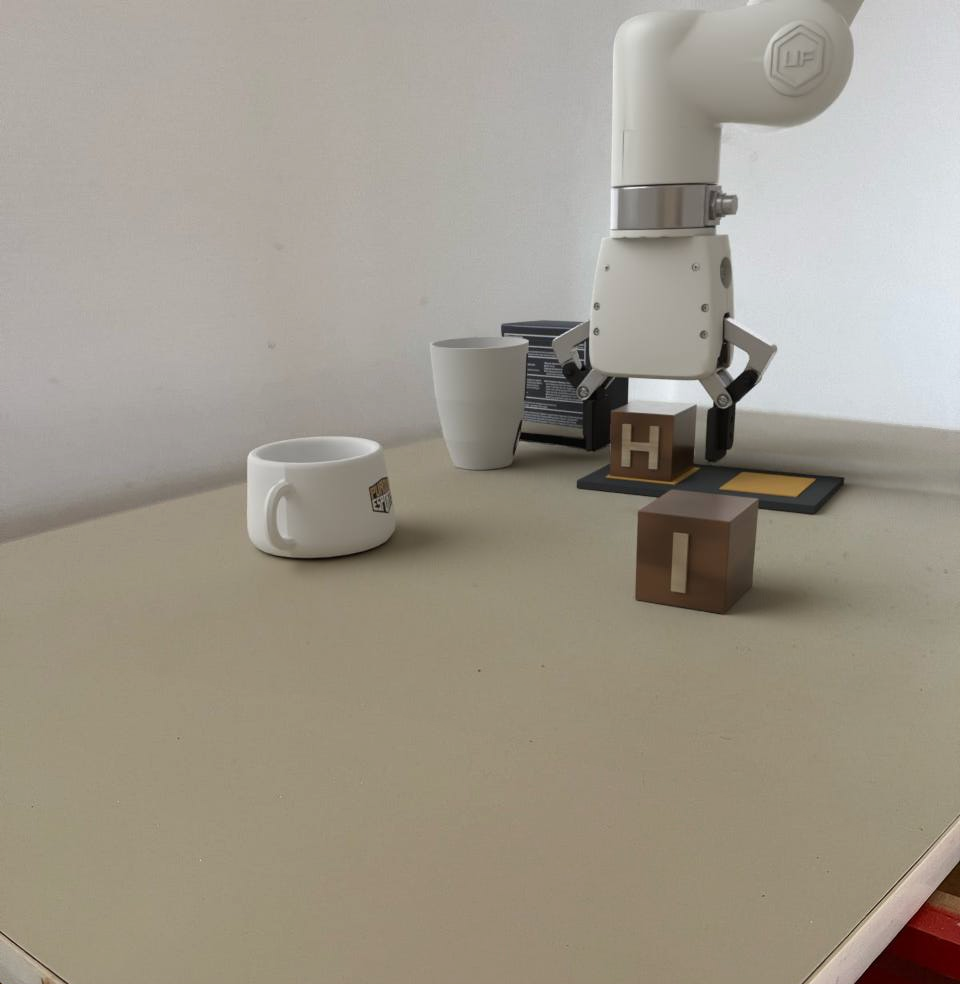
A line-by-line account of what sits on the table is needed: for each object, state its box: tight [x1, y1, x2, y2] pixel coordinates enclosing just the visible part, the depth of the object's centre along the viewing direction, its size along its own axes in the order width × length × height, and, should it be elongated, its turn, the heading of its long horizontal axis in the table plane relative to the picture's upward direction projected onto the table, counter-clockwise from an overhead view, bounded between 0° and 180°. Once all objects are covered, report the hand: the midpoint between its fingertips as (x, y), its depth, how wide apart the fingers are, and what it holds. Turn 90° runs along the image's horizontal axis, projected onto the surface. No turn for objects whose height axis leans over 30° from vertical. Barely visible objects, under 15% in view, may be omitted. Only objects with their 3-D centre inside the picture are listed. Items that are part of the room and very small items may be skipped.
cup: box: [429, 336, 529, 471], centre depth 86 cm, size 8×8×10 cm
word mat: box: [576, 463, 845, 515], centre depth 78 cm, size 18×9×1 cm, turn 60°
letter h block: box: [609, 399, 698, 482], centre depth 79 cm, size 5×5×5 cm
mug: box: [246, 435, 396, 559], centre depth 66 cm, size 12×10×6 cm
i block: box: [634, 490, 759, 615], centre depth 56 cm, size 5×5×5 cm
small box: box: [500, 319, 630, 450], centre depth 94 cm, size 11×6×10 cm, turn 48°
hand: (655, 453), depth 80 cm, fingers open, 9 cm apart
